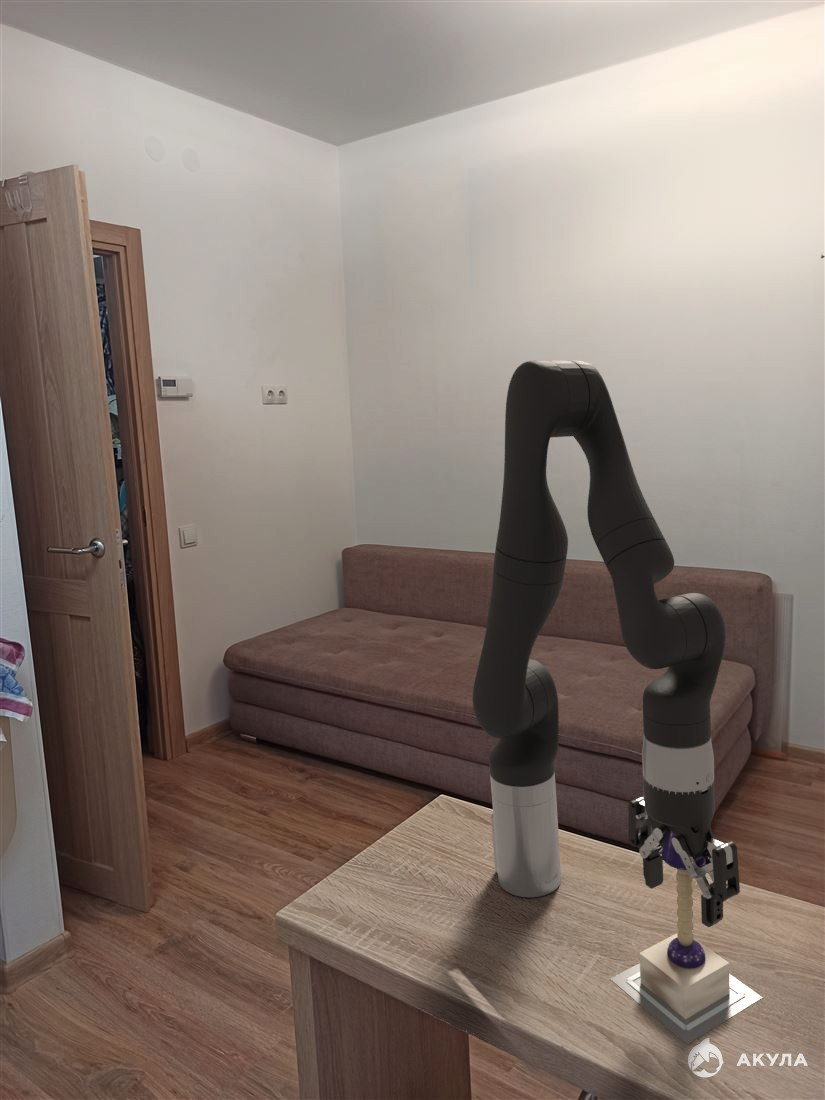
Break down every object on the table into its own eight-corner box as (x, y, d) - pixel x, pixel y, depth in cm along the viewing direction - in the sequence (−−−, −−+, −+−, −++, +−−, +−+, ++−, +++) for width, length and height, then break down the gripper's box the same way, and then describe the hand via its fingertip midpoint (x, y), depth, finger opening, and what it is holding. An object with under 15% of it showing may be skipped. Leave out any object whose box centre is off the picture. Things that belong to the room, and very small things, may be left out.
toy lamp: (708, 973, 92) (707, 837, 89) (665, 970, 93) (663, 835, 90) (702, 945, 97) (701, 815, 94) (661, 942, 98) (659, 814, 95)
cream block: (640, 982, 97) (639, 953, 97) (683, 959, 101) (682, 930, 100) (685, 1019, 91) (684, 988, 90) (729, 993, 94) (729, 963, 94)
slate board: (610, 986, 99) (610, 978, 98) (682, 946, 104) (682, 939, 104) (686, 1052, 88) (686, 1043, 88) (762, 1005, 94) (762, 996, 93)
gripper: (608, 759, 95) (614, 885, 98) (704, 809, 83) (707, 951, 86) (655, 741, 98) (660, 863, 102) (755, 787, 86) (756, 924, 89)
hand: (681, 903), depth 94 cm, fingers open, 8 cm apart
